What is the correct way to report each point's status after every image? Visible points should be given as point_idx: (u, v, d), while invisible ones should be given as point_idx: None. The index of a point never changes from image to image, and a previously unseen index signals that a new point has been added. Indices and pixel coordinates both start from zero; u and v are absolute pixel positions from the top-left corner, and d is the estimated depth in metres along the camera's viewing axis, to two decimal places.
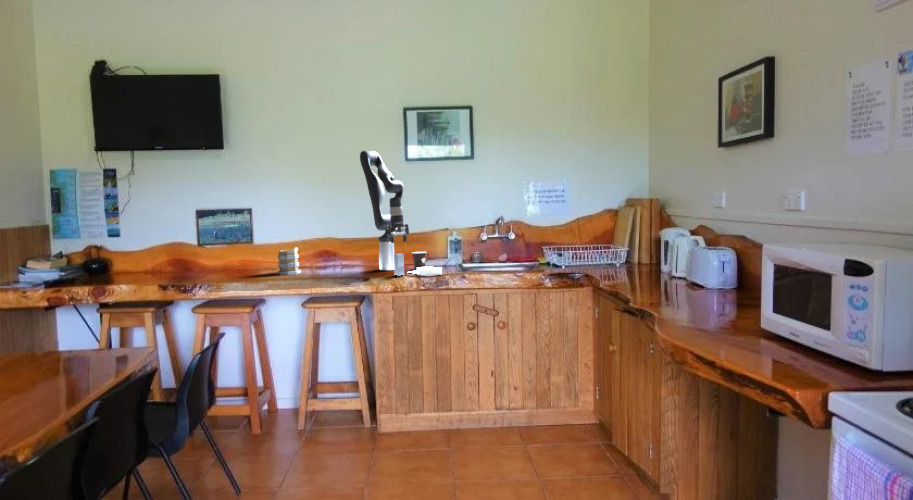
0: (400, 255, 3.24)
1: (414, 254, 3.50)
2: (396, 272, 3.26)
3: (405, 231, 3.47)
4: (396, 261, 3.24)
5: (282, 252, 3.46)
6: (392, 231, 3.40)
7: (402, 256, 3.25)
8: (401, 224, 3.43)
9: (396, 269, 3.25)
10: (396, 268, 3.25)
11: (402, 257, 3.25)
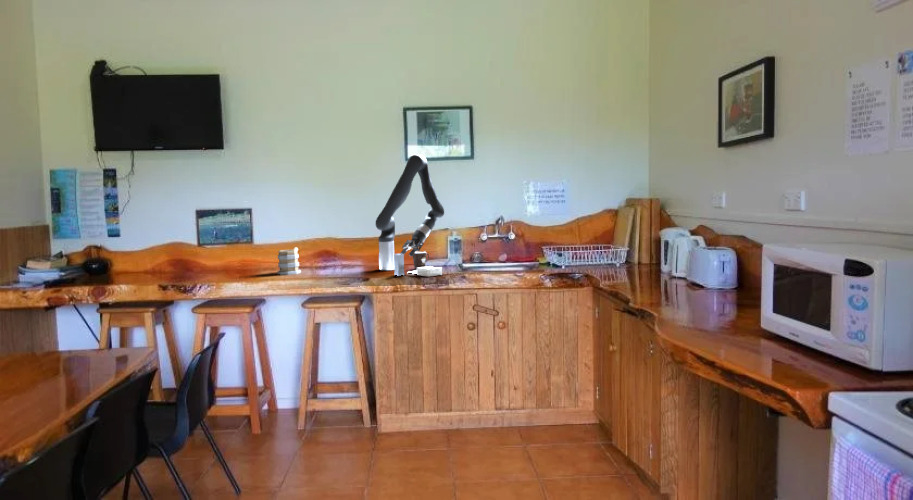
0: (400, 255, 3.24)
1: (414, 254, 3.50)
2: (396, 272, 3.26)
3: None
4: (396, 261, 3.24)
5: (282, 252, 3.46)
6: (416, 246, 3.29)
7: (402, 256, 3.25)
8: None
9: (396, 269, 3.25)
10: (396, 268, 3.25)
11: (402, 257, 3.25)
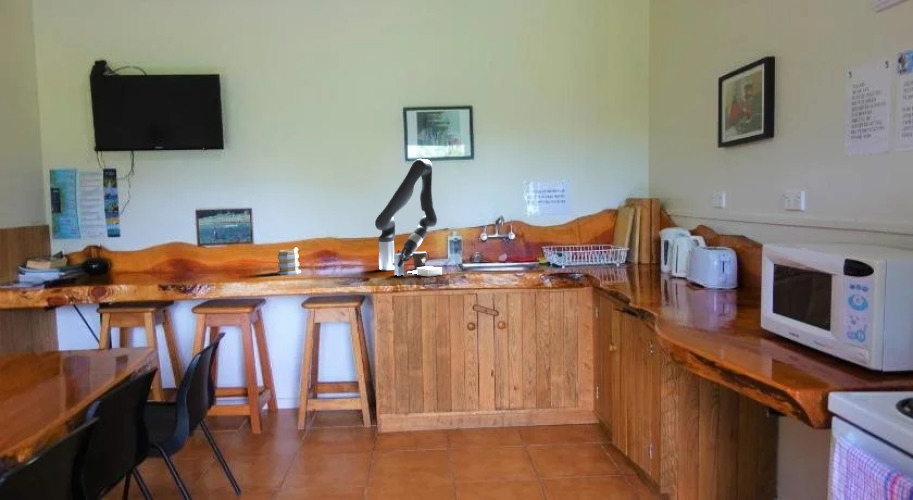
0: (400, 255, 3.24)
1: (414, 254, 3.50)
2: (396, 272, 3.26)
3: None
4: (397, 261, 3.24)
5: (282, 252, 3.46)
6: None
7: (402, 256, 3.25)
8: None
9: (396, 269, 3.25)
10: (396, 268, 3.25)
11: None
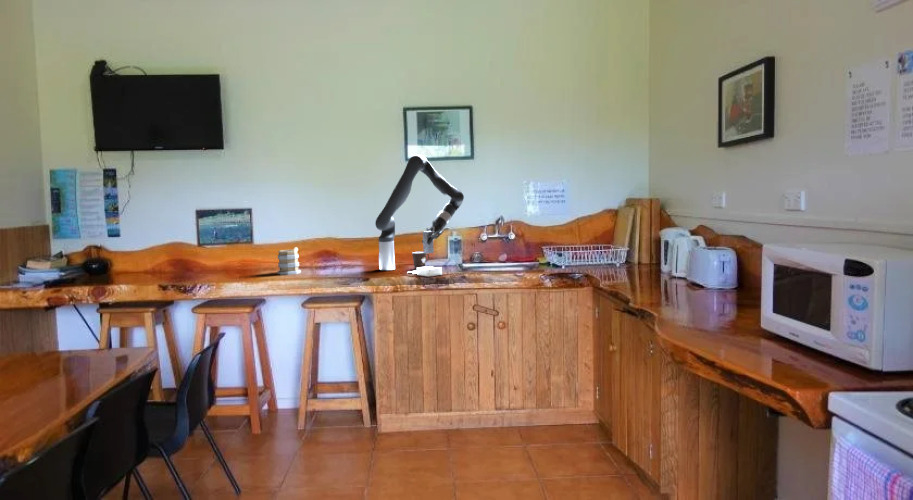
0: (429, 232, 3.22)
1: (414, 254, 3.50)
2: (425, 249, 3.23)
3: None
4: (426, 238, 3.21)
5: (282, 252, 3.46)
6: None
7: (431, 233, 3.22)
8: None
9: (425, 246, 3.23)
10: (426, 246, 3.22)
11: None
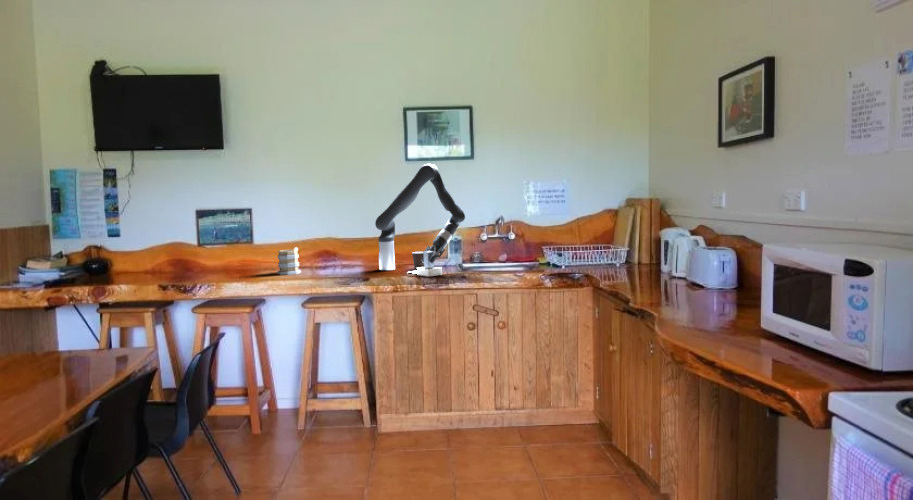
0: (430, 253, 3.23)
1: (414, 254, 3.50)
2: None
3: (425, 251, 3.30)
4: (427, 258, 3.23)
5: (282, 252, 3.46)
6: None
7: (432, 254, 3.24)
8: None
9: (426, 267, 3.24)
10: (426, 266, 3.23)
11: (432, 254, 3.24)
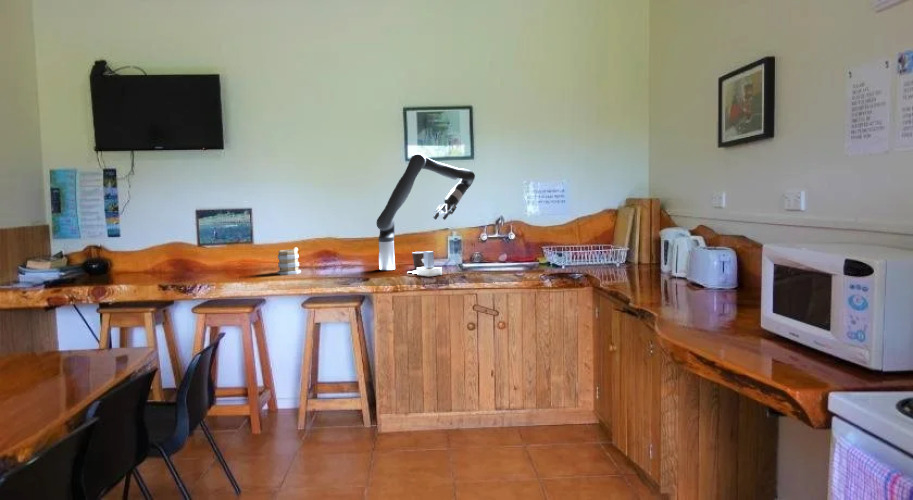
0: (430, 253, 3.23)
1: (414, 254, 3.50)
2: None
3: None
4: (427, 258, 3.23)
5: (282, 252, 3.46)
6: (449, 210, 3.35)
7: (432, 254, 3.24)
8: None
9: (426, 267, 3.24)
10: (426, 266, 3.23)
11: (432, 254, 3.24)
